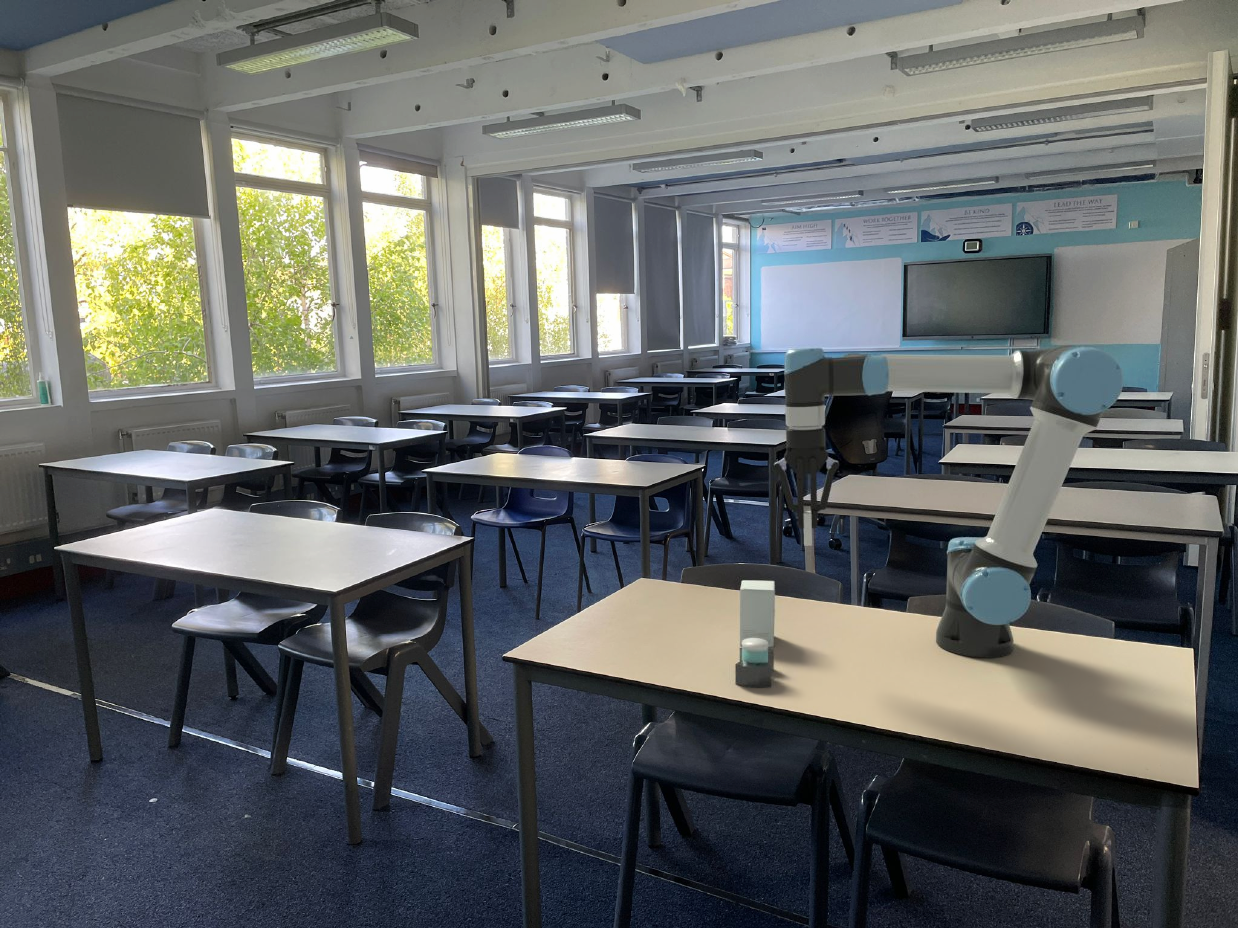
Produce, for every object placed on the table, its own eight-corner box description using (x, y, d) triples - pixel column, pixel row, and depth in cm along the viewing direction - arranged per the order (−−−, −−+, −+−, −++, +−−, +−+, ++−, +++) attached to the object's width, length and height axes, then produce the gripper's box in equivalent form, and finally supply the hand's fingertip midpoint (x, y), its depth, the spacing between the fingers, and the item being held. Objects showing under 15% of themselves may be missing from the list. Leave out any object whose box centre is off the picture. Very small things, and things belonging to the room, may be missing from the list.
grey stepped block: (773, 666, 173) (774, 647, 172) (770, 688, 162) (771, 668, 162) (740, 664, 174) (740, 645, 173) (734, 685, 164) (734, 665, 163)
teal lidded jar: (768, 672, 170) (768, 638, 169) (767, 682, 165) (767, 647, 164) (743, 670, 171) (743, 637, 170) (740, 680, 166) (740, 646, 165)
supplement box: (774, 647, 183) (774, 590, 181) (739, 645, 185) (739, 588, 183) (774, 635, 190) (775, 580, 189) (741, 633, 192) (741, 579, 190)
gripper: (838, 424, 172) (840, 539, 175) (772, 426, 174) (775, 539, 178) (840, 428, 165) (842, 548, 168) (771, 430, 167) (774, 548, 170)
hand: (808, 543), depth 173 cm, fingers closed
